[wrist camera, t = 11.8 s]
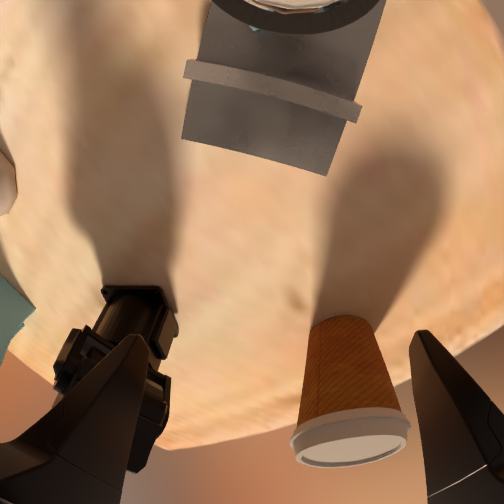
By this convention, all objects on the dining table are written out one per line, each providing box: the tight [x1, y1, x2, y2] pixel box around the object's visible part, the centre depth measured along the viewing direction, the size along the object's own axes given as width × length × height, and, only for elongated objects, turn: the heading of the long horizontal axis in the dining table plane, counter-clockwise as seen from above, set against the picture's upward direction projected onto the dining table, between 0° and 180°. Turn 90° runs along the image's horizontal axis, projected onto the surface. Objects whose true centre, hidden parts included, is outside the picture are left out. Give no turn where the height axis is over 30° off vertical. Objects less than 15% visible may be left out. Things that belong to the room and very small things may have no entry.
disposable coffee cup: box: [290, 316, 411, 468], centre depth 24 cm, size 10×10×12 cm
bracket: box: [181, 0, 386, 176], centre depth 13 cm, size 16×9×3 cm, turn 166°
